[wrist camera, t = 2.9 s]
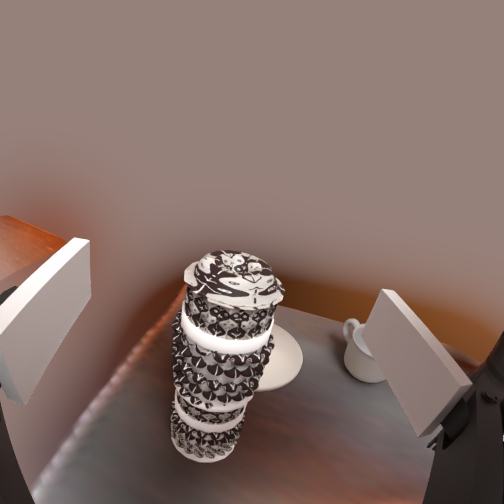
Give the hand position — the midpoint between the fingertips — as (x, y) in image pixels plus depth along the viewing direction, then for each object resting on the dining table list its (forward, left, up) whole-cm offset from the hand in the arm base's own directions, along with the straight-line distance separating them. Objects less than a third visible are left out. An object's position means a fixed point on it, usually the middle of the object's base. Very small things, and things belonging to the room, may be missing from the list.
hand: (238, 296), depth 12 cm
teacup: (+18, -36, -28) cm, 49 cm away
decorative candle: (+10, -4, -28) cm, 30 cm away
